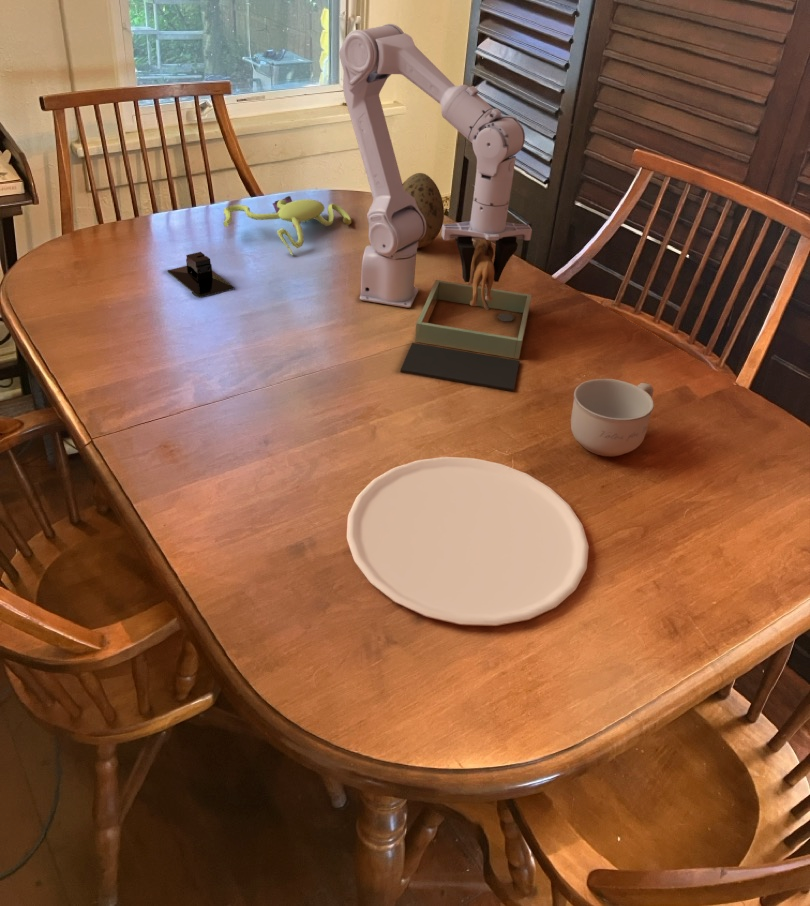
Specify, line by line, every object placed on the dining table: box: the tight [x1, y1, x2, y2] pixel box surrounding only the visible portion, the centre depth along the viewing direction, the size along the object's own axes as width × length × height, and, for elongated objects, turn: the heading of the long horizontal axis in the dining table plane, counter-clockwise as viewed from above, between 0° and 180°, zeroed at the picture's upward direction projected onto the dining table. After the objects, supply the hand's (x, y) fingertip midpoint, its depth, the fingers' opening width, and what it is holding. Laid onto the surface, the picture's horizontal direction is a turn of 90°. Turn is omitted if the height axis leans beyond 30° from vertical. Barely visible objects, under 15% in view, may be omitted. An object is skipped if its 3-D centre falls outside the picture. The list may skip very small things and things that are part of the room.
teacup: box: [570, 378, 655, 457], centre depth 113 cm, size 14×11×8 cm
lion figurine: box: [464, 239, 495, 311], centre depth 133 cm, size 15×5×9 cm, turn 10°
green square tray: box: [414, 279, 533, 360], centre depth 139 cm, size 18×18×4 cm
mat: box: [399, 342, 521, 393], centre depth 129 cm, size 18×9×1 cm, turn 78°
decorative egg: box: [394, 172, 445, 249], centre depth 162 cm, size 11×11×15 cm
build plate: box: [167, 251, 235, 298], centre depth 146 cm, size 12×7×5 cm, turn 39°
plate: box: [346, 456, 590, 627], centre depth 97 cm, size 29×29×1 cm
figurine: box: [223, 195, 352, 256], centre depth 167 cm, size 18×27×6 cm
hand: (480, 279), depth 135 cm, fingers closed on lion figurine, 4 cm apart
